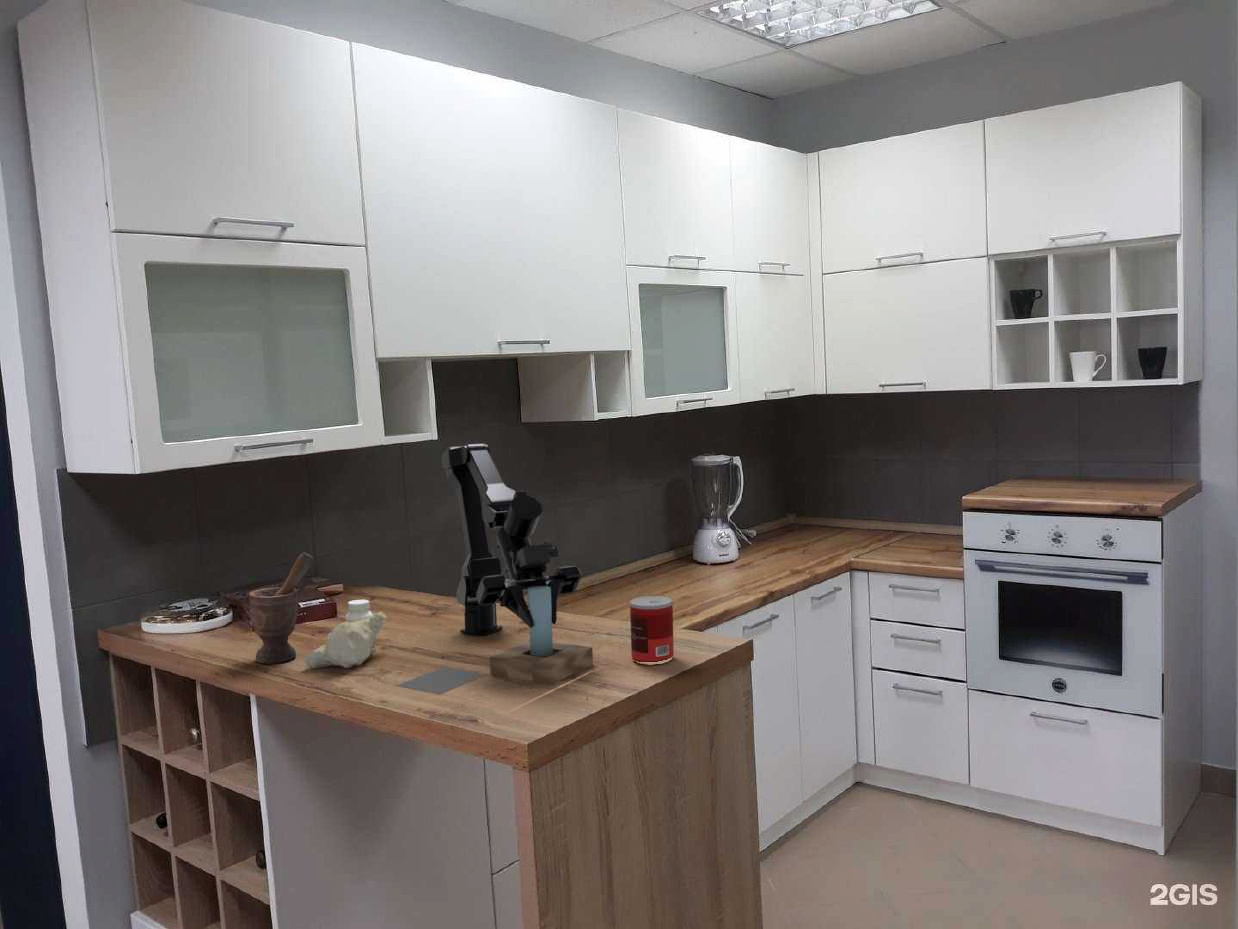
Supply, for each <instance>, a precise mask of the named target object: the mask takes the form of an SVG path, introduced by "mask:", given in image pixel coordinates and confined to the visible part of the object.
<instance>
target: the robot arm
mask: <svg viewBox="0 0 1238 929" xmlns="http://www.w3.org/2000/svg"><path fill="white" fill-rule="evenodd" d="M490 452H491V451H490V448H489V445H488V444H485V443H470V444H469V443H467V444H465V445H457V446H456V445H455V446H448V447H447V448H446V450H445V451H443V452H442V454H441V464H442V468H443V469H444V470H445V471H444V472H445V476H446V479H447V480H448V482H449V483H450V484H451V485H452V486H453V488H455V490H456V494H457V500H458V501H457V502H458V506H459V512H460V513H459V514H460V521H461V526H462V534H463V540H464V546H465V551H466V552H465V553H466V558H465V561H464V563H463V565H462V568H461V571H460V572H461V578H460V581H459V584H458V585H457V589H456V594H455V595H456V600H457V603H459V604H460V605H462V606H464V628H462V629H460V630H459V632H460V633H463V634H470V635H475V636H476V635H478V636H486V635H489V634H492V633H494V632H498V631H500V630H503V628H504V627H503V625H498V622H497V620H498V618H497V603H498V602H499V606H500V607H502V608H503V607H504V608H506V609H508V611H510V612H512V613H513V614H514V615H516V616H517V617H518V618H519V619H520V620H521V621H522V622H524V624H526V626H528V628H529V627H530V628H532V627H533V620H532V617H531V614H530V612H529V606H528V605H527V602H526V599H525V597H524V592H525V591H528V588H530V587H534V586H548V587H550V588H551V609H552V625H556V623H557V620H558V619H557V617H558V616H557V614H558V613H557V611H558V610H557V607H558V606H557V605H558V602H557V601H558V598H559V596H562V595H569V594H574V593H575V592H576V590H577V588H578V585H579V583H580V581H581V580H582V577H583V575H582V572H581V570H580V568H579V567H578V566H576V565H575V564H574V565H566V566H558V567H557V568H556V570H555V573H554V574H553V575H544V574H543V573H546V572H547V569H548V567H547V564H548V563H551V562H552V561H553V560H555V559H557V558H559V555H560V554H559V549H558V545H557V543H556V541H555V540H554V539H553V540H546V541H545V542H543V543H542V544H534V545H532V542H531V539H530V537H531V536H532V535H533V534H534V532H535V530H536V527H537V524H538V523H539V520H540V517H541V514H542V511H543V507H542V504H541V503H540V502H539V501H538V500H537V499H536V498H534V497H532V496H531V495H530V496H529V495H527V492H526V491H525V490H522V491H515V490H514V489H512V488H510V487H508V486H506V484H505V483H504V480H503V479H502V477H501V474H500V472H499V471H498V469H497V467H496V465H495V462H494V461H493V459H492V457H491V453H490ZM481 497H482V498H481ZM482 499H483V503H482ZM486 526H487V527H488V528H489V529H499V528H500V529H499V530H498V532H497V533H496V537H495V538H496V548H497V549H499V550H500V552H501V555H502V557H503V558H502V559H503V562H504V566H503V569H504V572H505V573H508V576H509V578H505V575H504V573H503V572H502V568H501V560H500V559H499V557H497V556H496V557H495V556H494V555H493V554H492V553H491V551H490V548H489V541H488V536H487V529H486V528H487V527H486Z"/></svg>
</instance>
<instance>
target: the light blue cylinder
mask: <svg viewBox="0 0 1238 929" xmlns="http://www.w3.org/2000/svg"><path fill="white" fill-rule="evenodd" d="M527 594H528V597H527V598H528V609H529V612H530V614H531V617H532V620H533V627H532V628H530V627H529V626H528V628H529V641H530V656H536V657H543V658H546V657H548V656H551V655H553V642H554V641H553V640H554V639H553V623H552V609H551V588H550V587H548V586H534V587H530V588H528V590H527Z"/></svg>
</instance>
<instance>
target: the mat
mask: <svg viewBox="0 0 1238 929" xmlns="http://www.w3.org/2000/svg"><path fill="white" fill-rule="evenodd" d="M484 676H487V674H486V673H479V672H475V671H469V670H464V669H457V668H451V667H447V666H446V667H445V666H442V667H440V668H437V669H434V670H431V671H430V672H427V673H425V674H421V675H419V676H417V677H415V678H411V679H409V680H407V681H405V682H402V683H399V684H397V685H395V686H396V687H400V688H405V689H411V690H415V691H420V692H426V693H431V694H436V695H442V694H444V693H448V692H449V691H451V690H453V689H457V688H458V687H461V686H463V685H465V684H468V683H470V682H473V681H475V680H478V679H480V678H482V677H484Z"/></svg>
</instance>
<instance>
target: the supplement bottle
mask: <svg viewBox="0 0 1238 929" xmlns="http://www.w3.org/2000/svg"><path fill="white" fill-rule="evenodd" d="M347 608H348V611H349V612H347V613H346V614H345V618H344V620H345V621H344V622H356V621H359V620H364V619H368V618H369V617H371V616H373V613H371V612H372V611H370V610H369V609H370V601H369V600H367V599H353V600H350V601H348V602H347ZM375 650H376V640H375V641H374V644H373V646H372V651H371V653H372V652H373V651H375Z"/></svg>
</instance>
